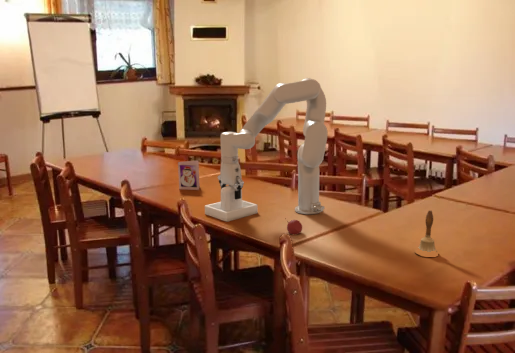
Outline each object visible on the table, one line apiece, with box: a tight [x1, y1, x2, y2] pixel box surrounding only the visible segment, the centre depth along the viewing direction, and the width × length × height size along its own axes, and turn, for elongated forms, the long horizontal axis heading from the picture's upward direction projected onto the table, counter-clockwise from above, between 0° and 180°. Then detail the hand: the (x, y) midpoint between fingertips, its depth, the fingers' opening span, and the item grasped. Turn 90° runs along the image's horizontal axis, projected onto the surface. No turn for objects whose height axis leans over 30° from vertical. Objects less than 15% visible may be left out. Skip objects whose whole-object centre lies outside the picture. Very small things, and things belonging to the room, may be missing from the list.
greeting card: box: [177, 160, 200, 191], centre depth 278 cm, size 11×7×15 cm, turn 76°
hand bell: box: [417, 210, 437, 252], centre depth 180 cm, size 8×8×16 cm
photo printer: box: [220, 185, 243, 212], centre depth 231 cm, size 10×4×12 cm, turn 126°
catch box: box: [204, 199, 259, 222], centre depth 232 cm, size 16×18×4 cm
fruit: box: [285, 218, 303, 235], centre depth 206 cm, size 6×6×8 cm
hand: (231, 196), depth 231 cm, fingers open, 9 cm apart
